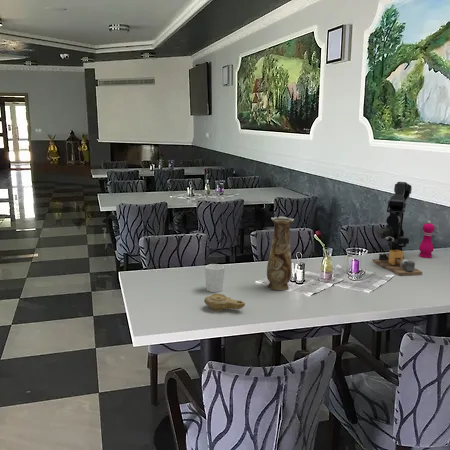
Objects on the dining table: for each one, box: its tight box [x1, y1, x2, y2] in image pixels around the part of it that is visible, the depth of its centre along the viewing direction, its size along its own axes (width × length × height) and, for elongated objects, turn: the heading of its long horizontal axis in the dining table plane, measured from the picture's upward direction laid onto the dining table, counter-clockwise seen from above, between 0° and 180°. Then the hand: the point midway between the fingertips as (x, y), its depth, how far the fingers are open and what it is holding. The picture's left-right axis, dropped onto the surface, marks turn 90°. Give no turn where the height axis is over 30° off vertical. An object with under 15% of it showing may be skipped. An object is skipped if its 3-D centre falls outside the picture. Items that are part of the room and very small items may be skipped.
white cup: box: [204, 263, 225, 293], centre depth 201 cm, size 8×8×10 cm
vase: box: [266, 215, 295, 291], centre depth 204 cm, size 10×11×30 cm
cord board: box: [372, 252, 423, 277], centre depth 239 cm, size 24×12×6 cm, turn 13°
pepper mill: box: [418, 220, 435, 259], centre depth 262 cm, size 7×7×20 cm
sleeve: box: [388, 249, 404, 265], centre depth 240 cm, size 4×5×6 cm
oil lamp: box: [203, 293, 246, 312], centre depth 180 cm, size 11×14×5 cm
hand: (391, 253), depth 243 cm, fingers closed
